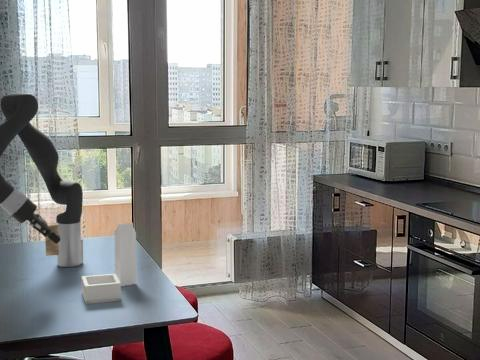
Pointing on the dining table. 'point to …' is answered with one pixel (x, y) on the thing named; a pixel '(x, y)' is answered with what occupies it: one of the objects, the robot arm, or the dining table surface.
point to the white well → (101, 288)
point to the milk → (125, 254)
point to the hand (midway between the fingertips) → (58, 239)
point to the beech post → (50, 245)
